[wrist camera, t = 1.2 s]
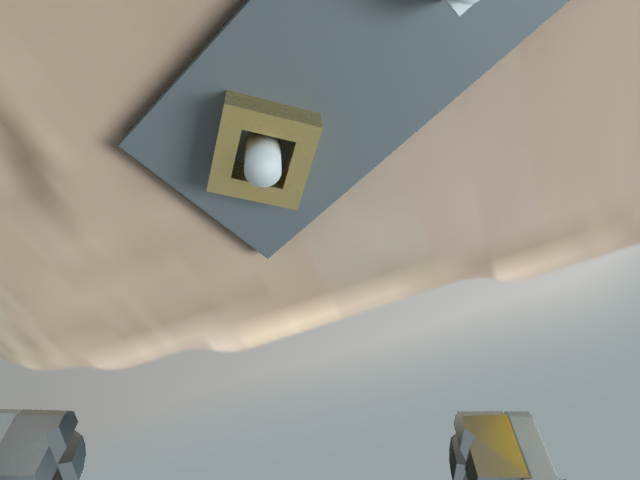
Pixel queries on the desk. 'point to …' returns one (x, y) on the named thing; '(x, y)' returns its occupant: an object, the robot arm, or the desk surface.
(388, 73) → the jig board
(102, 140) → the desk surface
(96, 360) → the desk surface
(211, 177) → the brass collar
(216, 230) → the desk surface
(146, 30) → the desk surface
